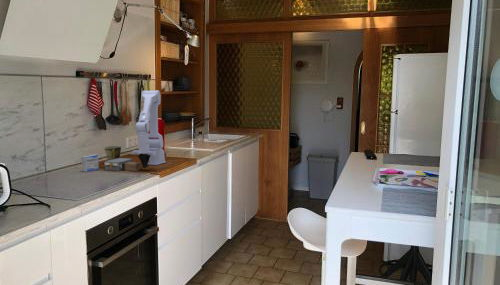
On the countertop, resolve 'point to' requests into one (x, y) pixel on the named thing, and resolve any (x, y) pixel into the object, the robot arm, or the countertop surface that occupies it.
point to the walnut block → (133, 166)
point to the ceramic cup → (112, 152)
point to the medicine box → (90, 163)
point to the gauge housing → (115, 163)
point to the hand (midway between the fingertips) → (145, 167)
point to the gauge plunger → (121, 164)
